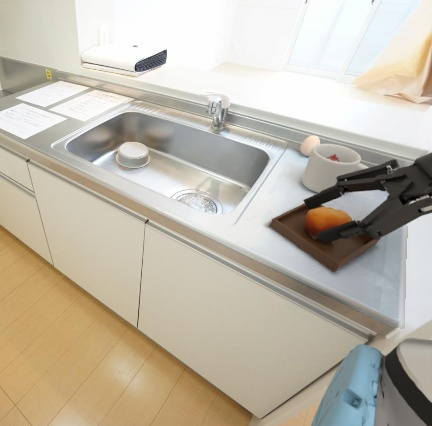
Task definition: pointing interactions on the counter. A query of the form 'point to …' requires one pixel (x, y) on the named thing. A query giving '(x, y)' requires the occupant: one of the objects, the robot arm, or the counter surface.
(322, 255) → the tray
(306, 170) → the cup
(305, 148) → the egg
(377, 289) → the counter surface
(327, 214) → the fruit
